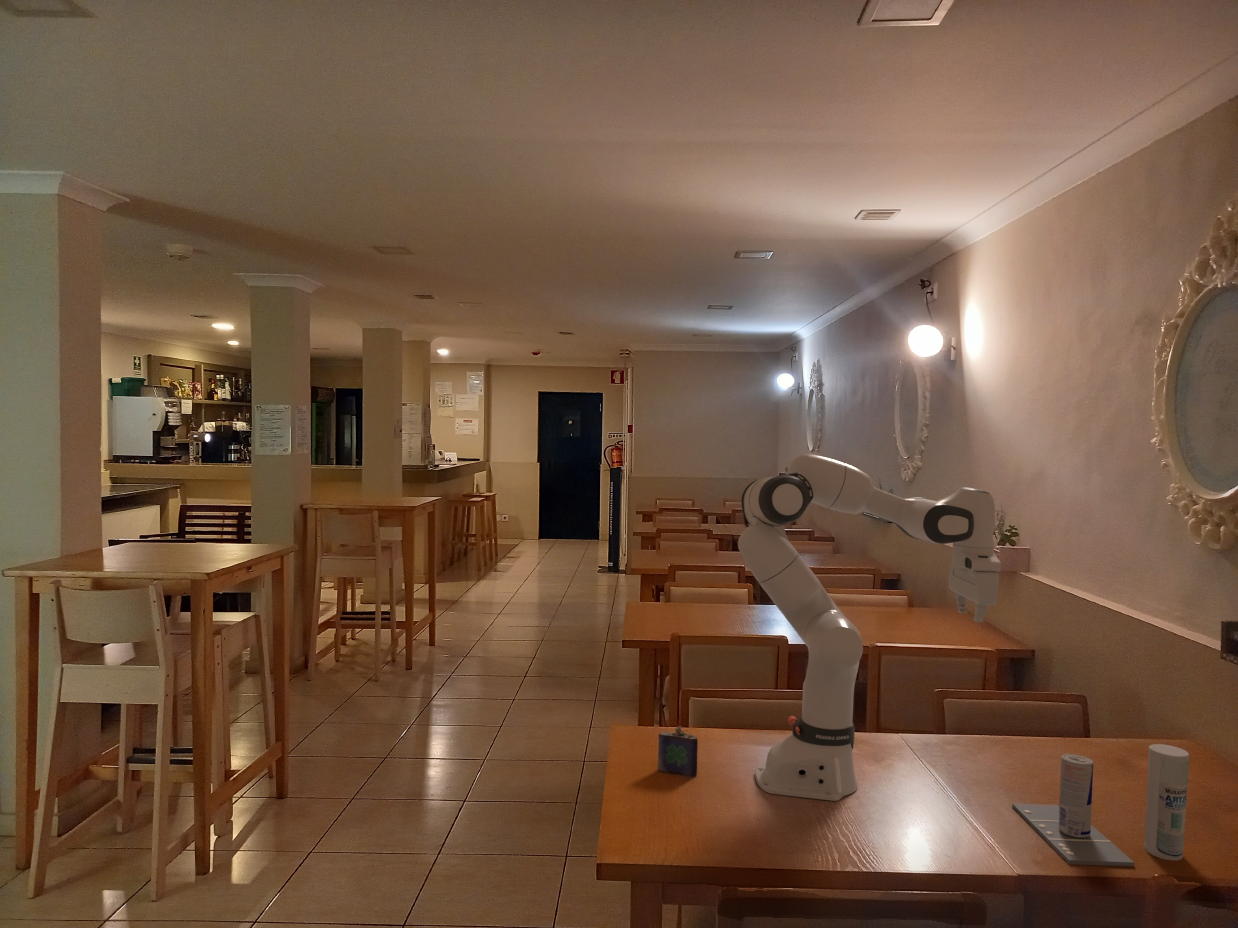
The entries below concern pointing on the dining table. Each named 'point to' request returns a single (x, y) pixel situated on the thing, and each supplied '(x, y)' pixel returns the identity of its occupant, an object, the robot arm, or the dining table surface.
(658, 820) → the dining table surface
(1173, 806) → the spray can
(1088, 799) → the beverage can
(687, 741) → the flask
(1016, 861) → the dining table surface
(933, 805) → the dining table surface
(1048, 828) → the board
